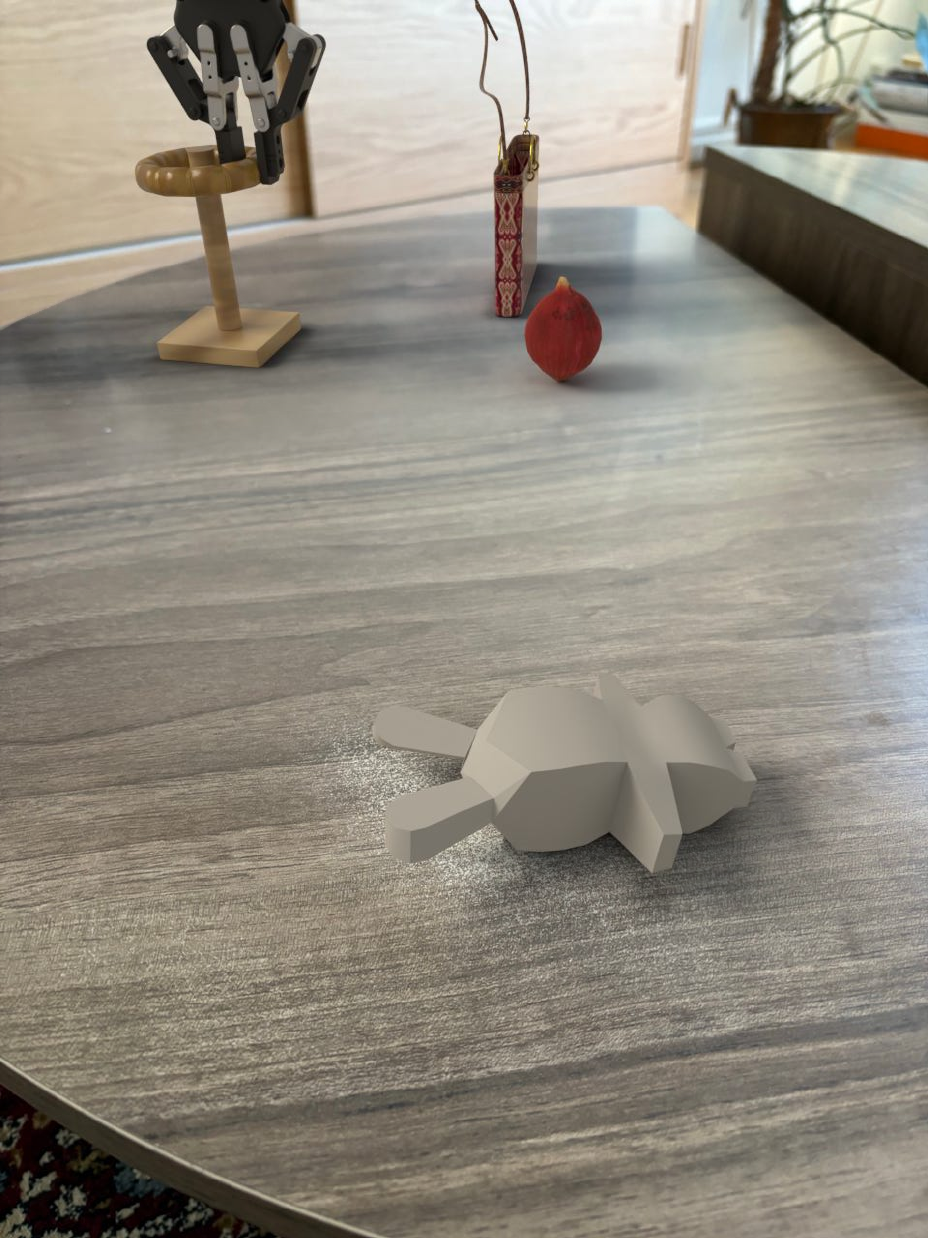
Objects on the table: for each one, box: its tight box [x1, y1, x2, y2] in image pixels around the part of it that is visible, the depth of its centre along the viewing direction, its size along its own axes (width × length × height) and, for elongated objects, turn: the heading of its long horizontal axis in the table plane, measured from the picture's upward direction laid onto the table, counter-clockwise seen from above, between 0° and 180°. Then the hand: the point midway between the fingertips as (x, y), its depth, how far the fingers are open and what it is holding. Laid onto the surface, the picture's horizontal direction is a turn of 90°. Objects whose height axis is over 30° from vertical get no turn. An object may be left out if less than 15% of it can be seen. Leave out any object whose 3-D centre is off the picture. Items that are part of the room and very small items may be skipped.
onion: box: [523, 276, 603, 383], centre depth 75 cm, size 6×6×8 cm
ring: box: [134, 144, 261, 198], centre depth 77 cm, size 10×10×2 cm
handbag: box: [474, 0, 540, 318], centre depth 89 cm, size 7×21×25 cm, turn 171°
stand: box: [156, 145, 302, 369], centre depth 81 cm, size 9×9×16 cm
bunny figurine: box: [371, 671, 758, 874], centre depth 41 cm, size 10×5×15 cm
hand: (254, 180), depth 77 cm, fingers closed on ring, 2 cm apart
